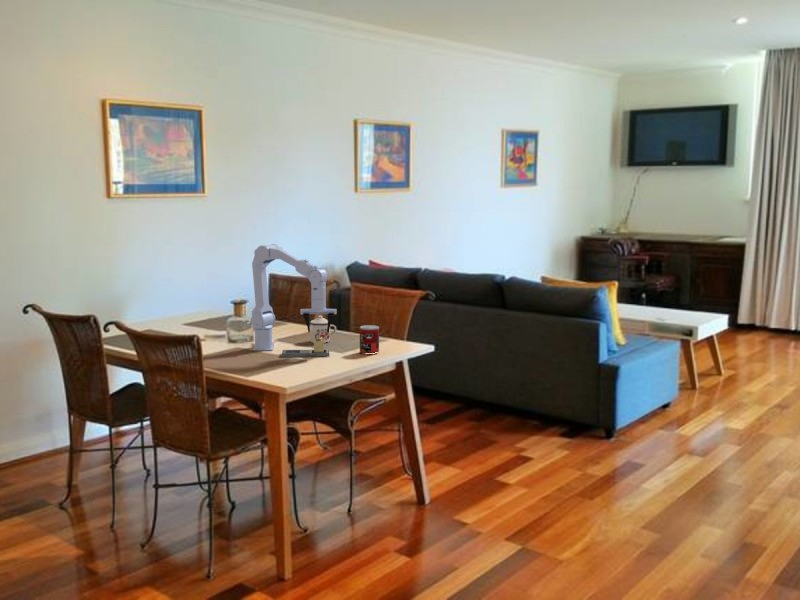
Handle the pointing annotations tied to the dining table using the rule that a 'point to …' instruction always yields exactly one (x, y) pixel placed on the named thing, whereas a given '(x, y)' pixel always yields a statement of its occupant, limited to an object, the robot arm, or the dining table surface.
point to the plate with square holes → (303, 353)
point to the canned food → (369, 339)
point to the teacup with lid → (320, 329)
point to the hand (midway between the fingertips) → (318, 331)
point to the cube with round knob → (318, 345)
